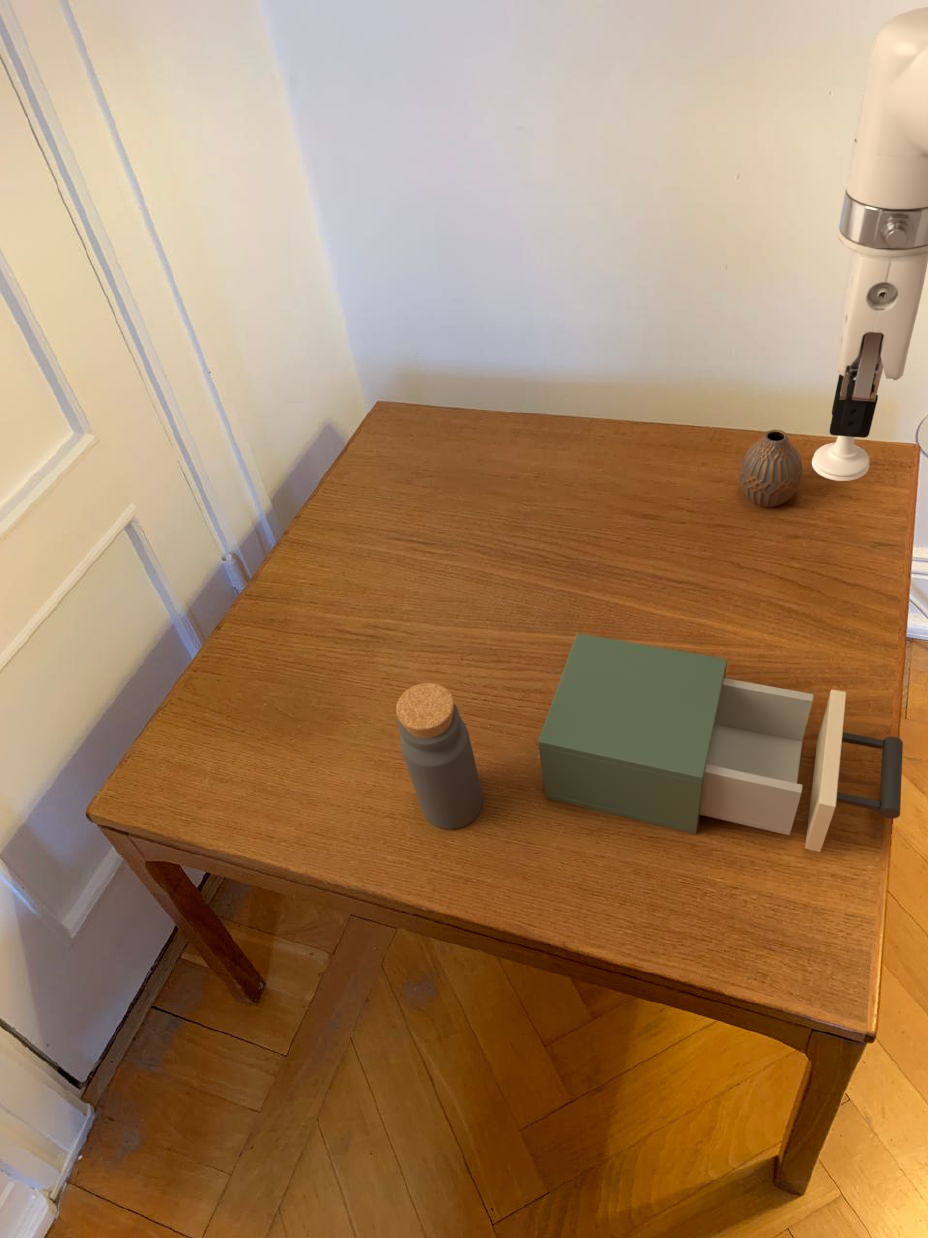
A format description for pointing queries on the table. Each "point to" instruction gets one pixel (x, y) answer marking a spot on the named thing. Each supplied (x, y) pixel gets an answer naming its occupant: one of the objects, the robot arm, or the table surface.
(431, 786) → the bottle
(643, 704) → the cabinet
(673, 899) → the table surface
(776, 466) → the vase
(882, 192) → the robot arm
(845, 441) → the chess piece
